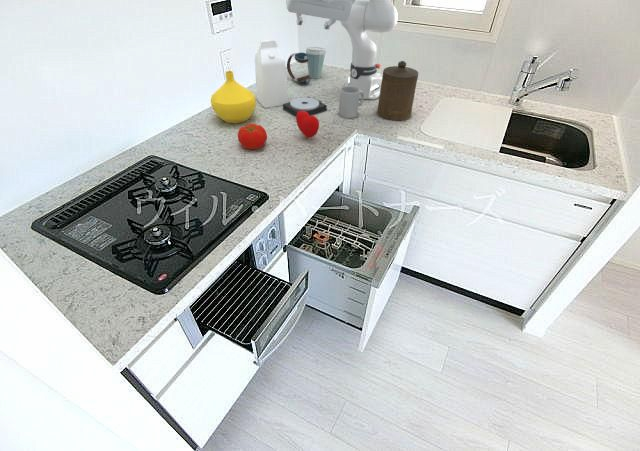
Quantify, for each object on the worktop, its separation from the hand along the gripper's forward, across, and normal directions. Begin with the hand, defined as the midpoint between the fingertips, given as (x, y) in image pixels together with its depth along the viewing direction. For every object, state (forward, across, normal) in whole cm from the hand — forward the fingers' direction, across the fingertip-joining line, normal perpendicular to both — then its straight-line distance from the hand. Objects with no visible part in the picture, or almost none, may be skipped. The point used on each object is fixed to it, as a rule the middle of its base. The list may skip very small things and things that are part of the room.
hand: (312, 25), depth 110 cm
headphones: (+61, -17, -29) cm, 69 cm away
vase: (+48, +21, +3) cm, 53 cm away
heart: (+31, -4, +22) cm, 39 cm away
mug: (+37, -29, +5) cm, 47 cm away
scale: (+44, -10, -1) cm, 45 cm away
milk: (+53, +2, -11) cm, 54 cm away
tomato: (+34, +17, +25) cm, 46 cm away
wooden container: (+32, -47, +8) cm, 57 cm away
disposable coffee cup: (+64, -26, -38) cm, 78 cm away
